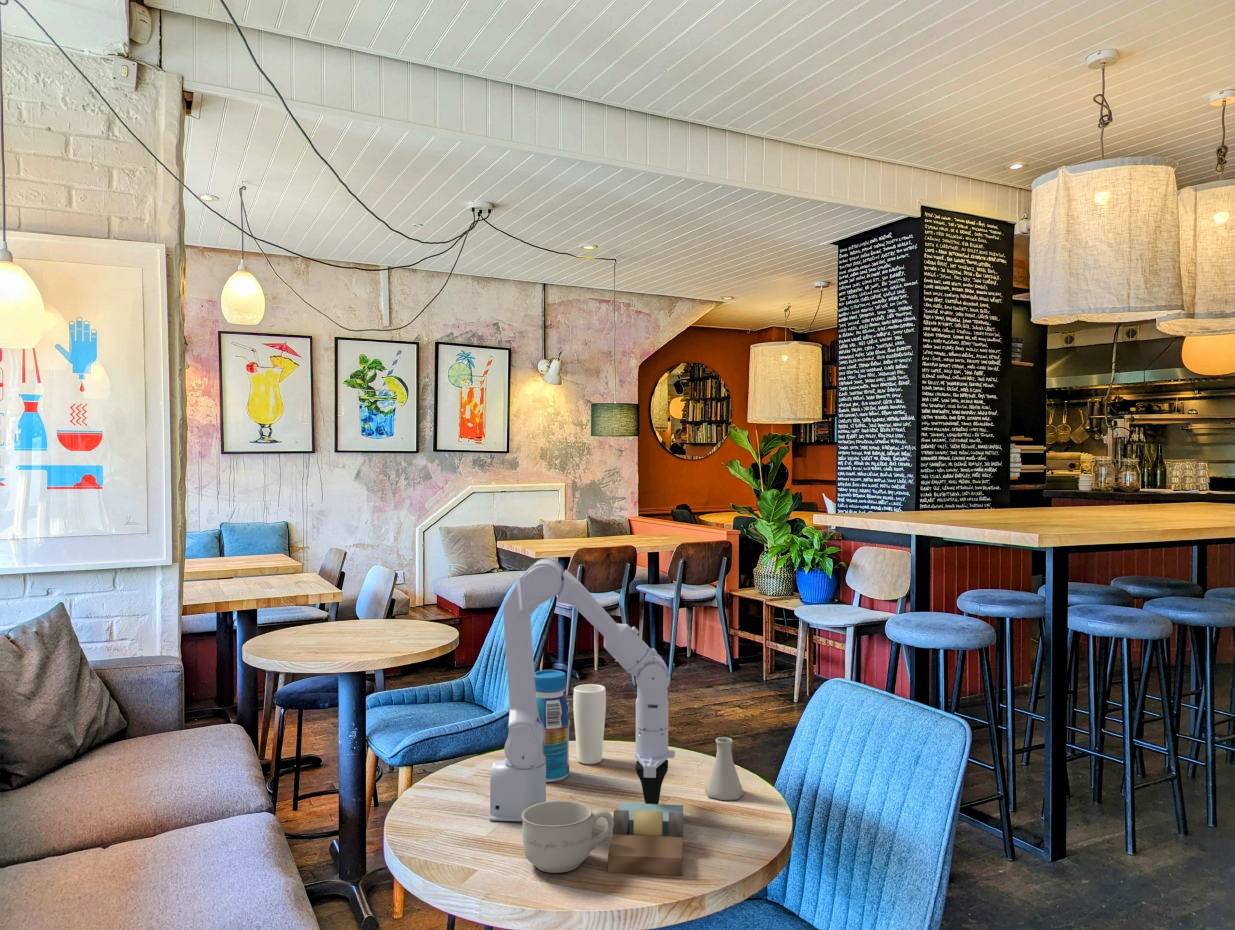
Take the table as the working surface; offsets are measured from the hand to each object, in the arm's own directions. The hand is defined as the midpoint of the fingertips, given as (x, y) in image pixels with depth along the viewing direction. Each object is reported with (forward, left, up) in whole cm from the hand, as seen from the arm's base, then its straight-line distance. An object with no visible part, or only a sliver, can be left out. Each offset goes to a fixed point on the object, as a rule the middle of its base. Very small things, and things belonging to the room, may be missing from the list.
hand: (651, 804), depth 142 cm
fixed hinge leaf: (0, -16, -1) cm, 16 cm away
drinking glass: (-14, +25, -2) cm, 29 cm away
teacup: (-12, -20, -2) cm, 23 cm away
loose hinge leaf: (0, -8, -1) cm, 8 cm away
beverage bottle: (-21, +16, -2) cm, 26 cm away
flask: (+13, +10, -2) cm, 16 cm away
